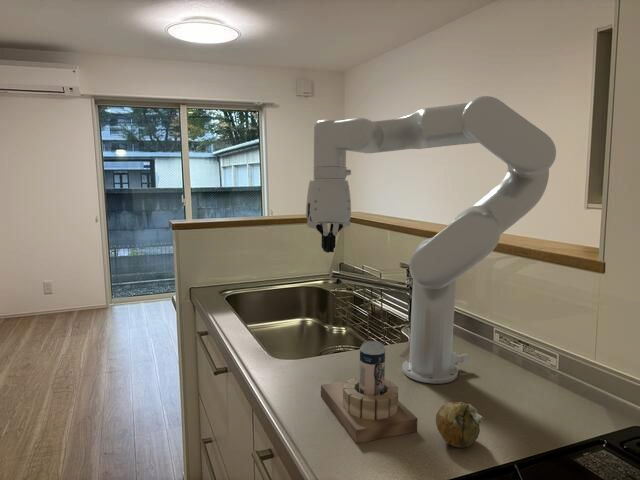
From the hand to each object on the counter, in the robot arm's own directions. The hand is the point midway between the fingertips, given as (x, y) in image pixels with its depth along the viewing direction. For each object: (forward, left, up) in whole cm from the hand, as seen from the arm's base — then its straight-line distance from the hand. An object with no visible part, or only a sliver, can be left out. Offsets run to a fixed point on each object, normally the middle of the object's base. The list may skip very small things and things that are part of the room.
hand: (328, 251), depth 114 cm
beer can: (+2, +29, -25) cm, 38 cm away
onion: (-9, +41, -27) cm, 50 cm away
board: (+2, +27, -27) cm, 38 cm away
